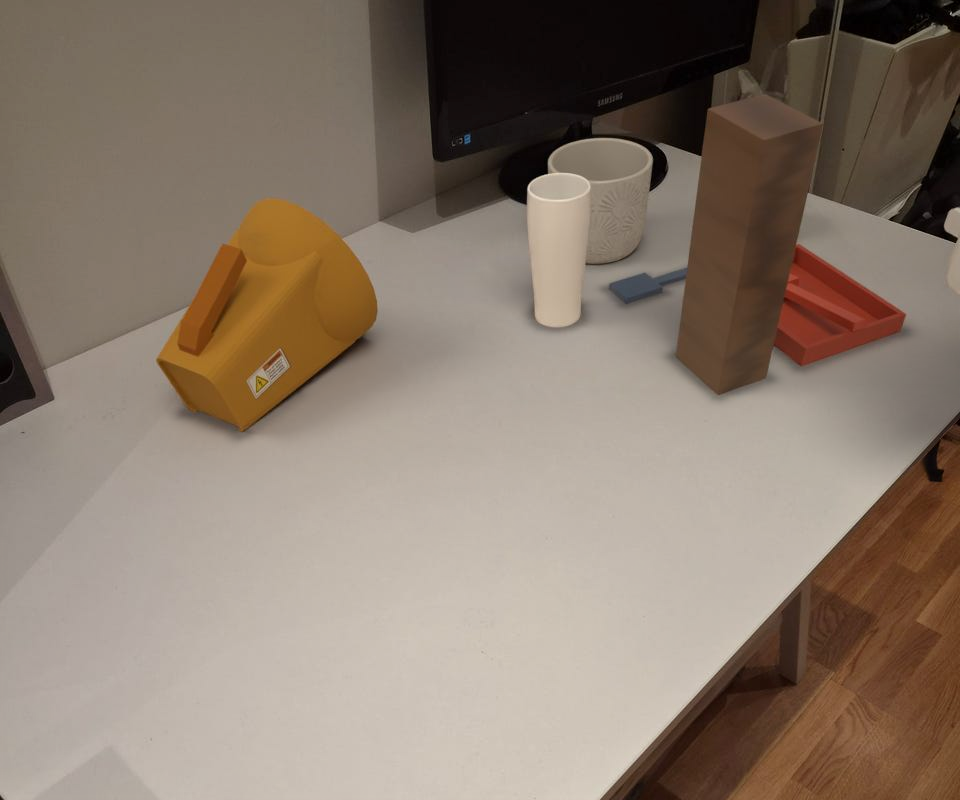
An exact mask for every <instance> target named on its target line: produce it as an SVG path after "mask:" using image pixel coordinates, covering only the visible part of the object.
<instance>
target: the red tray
mask: <svg viewBox="0 0 960 800" xmlns="http://www.w3.org/2000/svg"><path fill="white" fill-rule="evenodd" d="M790 274H792V275H794V276H796V277H799V284H798V287H800V288H802V289H804V290H806V291H808V292H810V293H812V294H814V295H816V296H818V297H820V298H822V299H824V300H826V301H828V302H830V303H832V304H835V305H837V306H839V307H841V308H843V309H845V310H847V311H849V312H851V313H853V314H855V315H857V316H859V317H861V318H863V319H865V323H864V327H863V328H862V329H859V330H857V331H854V332H853V331H851V330H849V329H847V328H845V327H843V326H841V325H839V324H837V323H835V322H833V321H831V320H829V319H827V318H825V317H823V316H821V315H819V314H817V313H815V312H813V311H811V310H809V309H807V308H805V307H803V306H801V305H799V304H797V303H795V302H793V301H791V300H789V299H787V298H785V297H784V301H783V305H782V310H781V314H780V318H779V323H778V327H777V332H776V336H775V340H774V345H773V347H776V348H777V349H778V350H779V351H781V352H782V353H783V354H785V355H786V356H787V357H788V358H790V359H791V360H792V361H794V362H795V363H797V365H799V366H800V367H804V366H807V365H811V364H812V363H815V362H818V361H821V360H824V359H827V358H830V357H833V356H835V355H838V354H841V353H845V352H847V351H850V350H852V349H855V348H859V347H860V346H864V345H867V344H869V343H872V342H875V341H878V340H880V339H883V338H886V337H889V336H892V335H894V334H897V333H900V332H901V331H902V328H903V326H904V322H905V320H906V316H907V314H906V312H904V311H902V310H901V309H899V308H898V307H896V306H894V305H893V304H892V303H890V302H889V301H887V300H886V299H884V298H883V297H882V296H879V295H878V294H876V293H875V292H873V291H872V290H871V289H869V288H867V287H866V286H864V285H863V284H861V283H860V282H859V281H857V280H855V279H854V278H852V277H850V276H848V275H847V274H846V273H845V272H843V271H841V270H840V269H838V268H837V267H835V266H834V265H833V264H831V263H829V262H828V261H827V260H825V259H823V258H821V257H820V256H819V255H817V254H815V253H814V252H812V251H810V250H809V249H807V248H806V247H805V246H803V245H801V244H800V243H796V248H795V252H794V257H793V261H792V265H791V270H790Z"/></svg>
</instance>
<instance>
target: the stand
mask: <svg viewBox="0 0 960 800" xmlns="http://www.w3.org/2000/svg"><path fill="white" fill-rule="evenodd" d="M823 128H824V123H823V122H821V121H819V120H817V119H816V118H813V117H812V116H809V115H807V114H806V113H803V112H802V111H800V110H797V109H796V108H794V107H791V106H790V105H788V104H786V103H784V102H782V101H780V100H778V99H776V98H774V97H772V96H770V95H768V94H766V93H762V94H758V95H755V96H751V97H747V98H744V99H740V100H736V101H732V102H729V103H725V104H720V105H716V106H713V107H710V108H708V109H707V112H706V119H705V128H704V133H703V134H704V135H703V143H702V150H701V158H700V167H699V173H698V182H697V190H696V197H695V204H694V213H693V220H692V227H691V235H690V244H689V250H688V256H687V257H688V258H687V264H686V266H687V267H686V268H687V273H686V279H685V281H684V288H683V296H682V305H681V310H680V311H681V312H680V319H679V327H678V333H677V334H678V336H677V343H676V351H675V359H677V360H678V361H679V362H680V363H681V364H682V365H684V367H686V368H687V369H688V370H689V371H690V372H691V373H692V374H694V375H695V376H696V377H697V378H698V379H699V380H700V381H701V382H702V383H703V384H705V385H706V387H708V388H709V389H710V390H711V391H713V392H714V393H715V394H716V395H717V396H720V395H723V394H726V393H728V392H731V391H734V390H737V389H740V388H742V387H743V388H744V387H746V386H748V385H750V384H755V383H756V382H759V381H763V380H765V379H767V375H768V371H769V367H770V362H771V358H772V354H773V353H772V352H773V350H774V340H775V336H776V332H777V327H778V323H779V318H780V314H781V310H782V305H783V301H784V296H785V292H786V287H787V283H788V279H789V274H790V270H791V265H792V261H793V257H794V252H795V248H796V244H798V239H799V234H800V229H801V225H802V220H803V216H804V212H805V208H806V205H807V204H806V203H807V199H808V195H809V189H810V185H811V180H812V177H813V173H814V172H813V171H814V168H815V163H816V160H817V155H818V150H819V146H820V142H821V137H822V133H823Z"/></svg>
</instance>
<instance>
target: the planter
mask: <svg viewBox="0 0 960 800" xmlns="http://www.w3.org/2000/svg"><path fill="white" fill-rule="evenodd" d="M653 163H654V158H653V155H652V152H650V150H649V149H648V148H646V147H645V146H643V145H642V144H639V143H637V142H634V141H631V140H626V139H621V138H615V137H614V138H613V137H594V138H586V139H580V140H576V141H572V142H569V143H566V144H563V145H562V146H560V147H558V148H556V149H555V150H554V151H552V153H551V154H550V155H549V157H548V158H547V174H552V173H571V174H576V175H579V176H582V177H584V178H586V179H587V180H588V181H589V182H590V184H591V220H590V232H589V240H588V248H587V256H586V264H587V265H588V264H589V265H603V264H610V263H614V262H617V261H620V260H623V259H624V258H625V257H628V256H629V255H630V254H632V253H633V252H634V251H635V250H636V248H637V247H638V245H639V243H640V242H641V239H642V237H643V233H644V228H645V225H646V224H645V223H646V218H647V212H648V204H649V196H650V190H651V189H650V188H651V178H652V171H653ZM586 264H585V265H586Z"/></svg>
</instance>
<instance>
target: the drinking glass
mask: <svg viewBox="0 0 960 800" xmlns="http://www.w3.org/2000/svg"><path fill="white" fill-rule="evenodd" d="M590 220H591V184H590V182H589V181H588V180H587V179H586V178H584V177H582V176H579V175H576V174H571V173H552V174H548V173H547V174H544V175H540V176H538V177H536V178H534V179H532V180H531V181H530V182H529V184H528V185H527V189H526V227H527V228H526V229H527V240H528V249H529V260H530V269H531V279H532V288H533V299H534V317H535V320H536V321H537V322H538V323H539V324H540V325H543V326H544V327H549V328H564V327H565V328H566V327H568V326H571V325H574V324H576V323H577V322H578V321H579V319H580V318H581V314H582V298H583V297H582V296H583V290H584V289H583V287H584V279H585V273H586V256H587V248H588V240H589V232H590Z"/></svg>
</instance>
